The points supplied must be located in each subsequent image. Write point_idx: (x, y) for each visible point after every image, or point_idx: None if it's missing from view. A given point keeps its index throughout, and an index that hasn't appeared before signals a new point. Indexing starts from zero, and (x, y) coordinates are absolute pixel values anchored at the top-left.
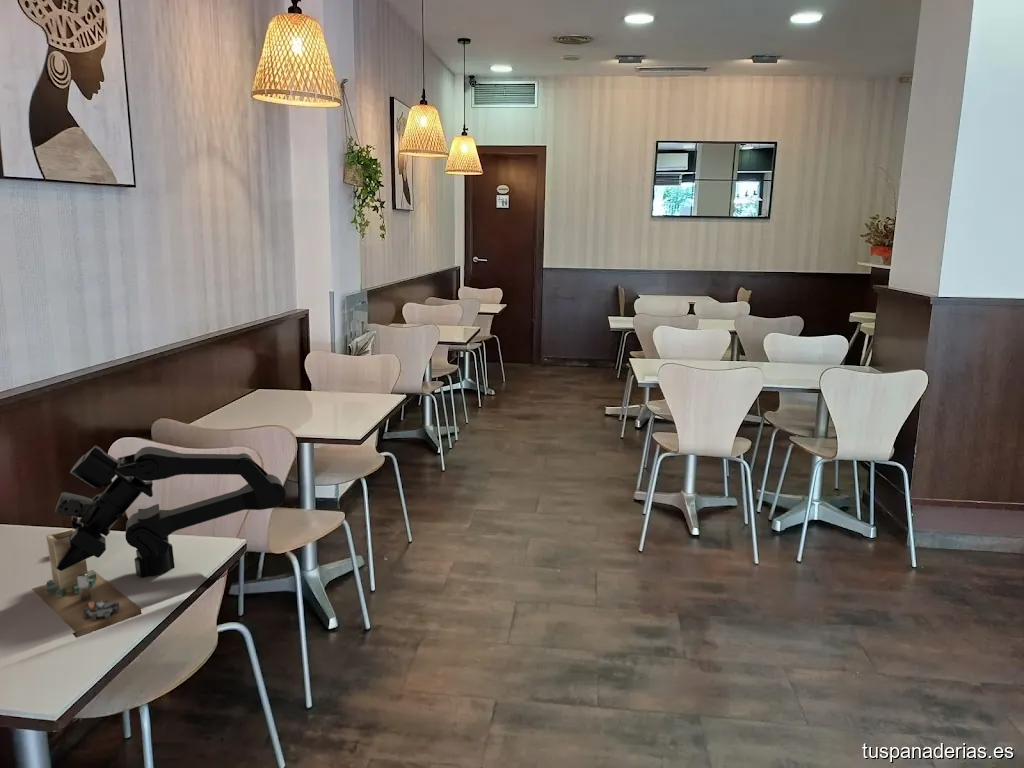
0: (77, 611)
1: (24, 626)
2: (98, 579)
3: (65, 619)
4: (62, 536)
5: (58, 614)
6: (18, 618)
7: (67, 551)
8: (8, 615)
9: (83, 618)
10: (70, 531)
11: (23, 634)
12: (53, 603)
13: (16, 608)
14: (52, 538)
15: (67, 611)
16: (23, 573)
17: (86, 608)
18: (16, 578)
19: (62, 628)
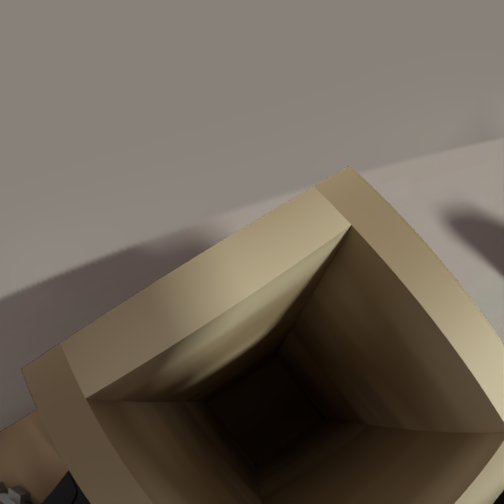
0: (38, 469)
1: (41, 319)
2: None
3: (2, 435)
4: (416, 357)
5: (31, 413)
6: (95, 284)
7: (54, 496)
8: (127, 247)
9: (2, 481)
10: (493, 424)
11: (5, 329)
12: None
13: (171, 252)
14: (192, 293)
15: (42, 439)
16: (421, 189)
17: (14, 496)
18: (393, 181)
19: (5, 426)
